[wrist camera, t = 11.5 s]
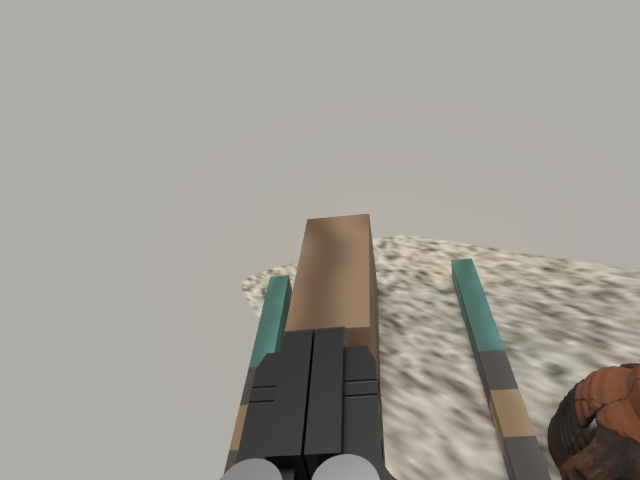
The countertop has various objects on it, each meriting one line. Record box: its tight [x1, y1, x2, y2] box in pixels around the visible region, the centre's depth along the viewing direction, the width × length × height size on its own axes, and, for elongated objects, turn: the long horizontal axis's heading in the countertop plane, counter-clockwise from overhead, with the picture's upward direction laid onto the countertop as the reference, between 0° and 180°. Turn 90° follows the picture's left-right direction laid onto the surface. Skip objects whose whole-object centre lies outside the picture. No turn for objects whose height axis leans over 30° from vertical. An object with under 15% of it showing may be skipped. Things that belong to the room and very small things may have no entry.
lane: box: [224, 259, 551, 480], centre depth 42 cm, size 21×27×2 cm
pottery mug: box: [548, 363, 640, 480], centre depth 31 cm, size 12×10×8 cm
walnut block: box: [285, 214, 380, 388], centre depth 44 cm, size 6×16×9 cm, turn 175°
